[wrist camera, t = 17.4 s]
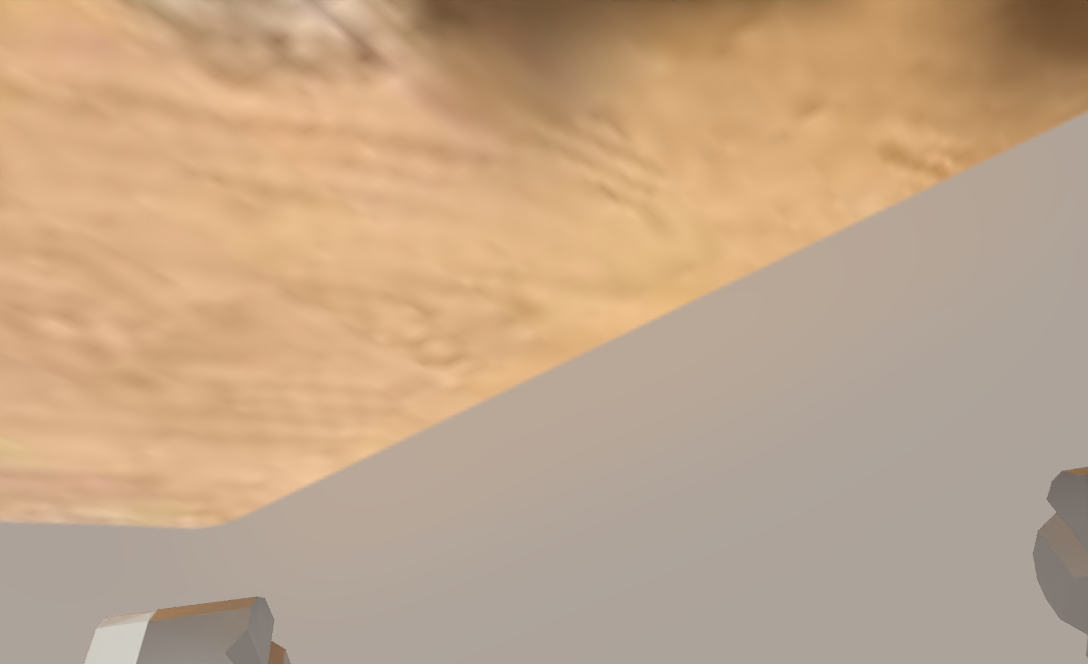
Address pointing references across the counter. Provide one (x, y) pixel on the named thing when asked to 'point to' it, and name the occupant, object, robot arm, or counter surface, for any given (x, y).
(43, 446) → the counter surface
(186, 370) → the counter surface
